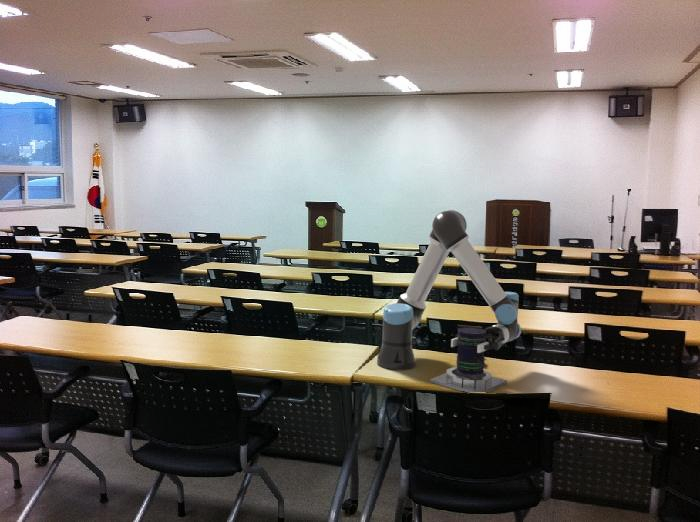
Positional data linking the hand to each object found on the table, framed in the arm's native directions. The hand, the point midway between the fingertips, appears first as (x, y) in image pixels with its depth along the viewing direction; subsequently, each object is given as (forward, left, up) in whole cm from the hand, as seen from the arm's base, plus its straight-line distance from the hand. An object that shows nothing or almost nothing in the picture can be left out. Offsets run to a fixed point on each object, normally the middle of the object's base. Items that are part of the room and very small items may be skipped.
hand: (464, 346), depth 201 cm
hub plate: (0, +4, -14) cm, 15 cm away
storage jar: (0, +4, -10) cm, 11 cm away
